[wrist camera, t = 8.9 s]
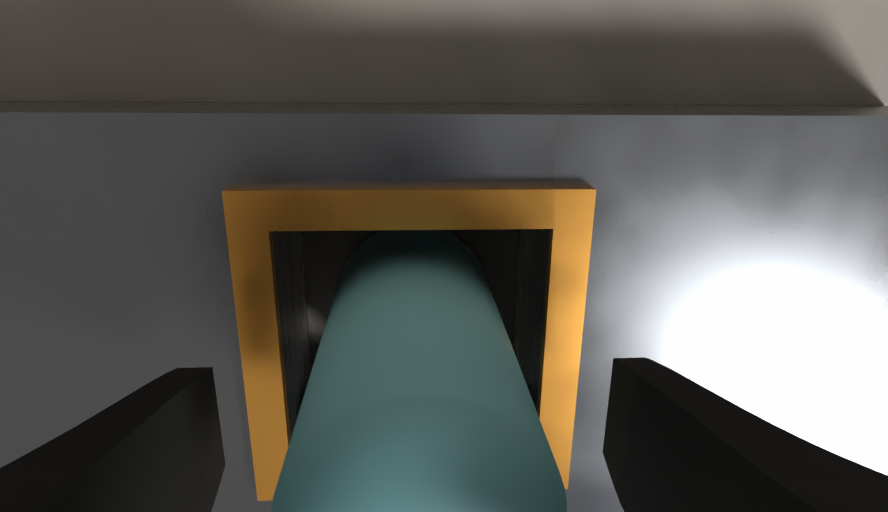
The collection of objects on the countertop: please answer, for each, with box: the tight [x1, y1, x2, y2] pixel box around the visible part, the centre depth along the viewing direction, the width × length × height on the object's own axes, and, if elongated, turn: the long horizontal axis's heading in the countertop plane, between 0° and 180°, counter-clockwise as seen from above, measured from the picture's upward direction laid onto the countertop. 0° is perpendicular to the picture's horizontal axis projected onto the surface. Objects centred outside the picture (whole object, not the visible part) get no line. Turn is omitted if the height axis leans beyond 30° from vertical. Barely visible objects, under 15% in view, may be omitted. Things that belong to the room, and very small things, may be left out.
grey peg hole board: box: [0, 101, 888, 512], centre depth 14 cm, size 24×10×3 cm, turn 89°
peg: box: [271, 230, 567, 512], centre depth 12 cm, size 4×4×8 cm
